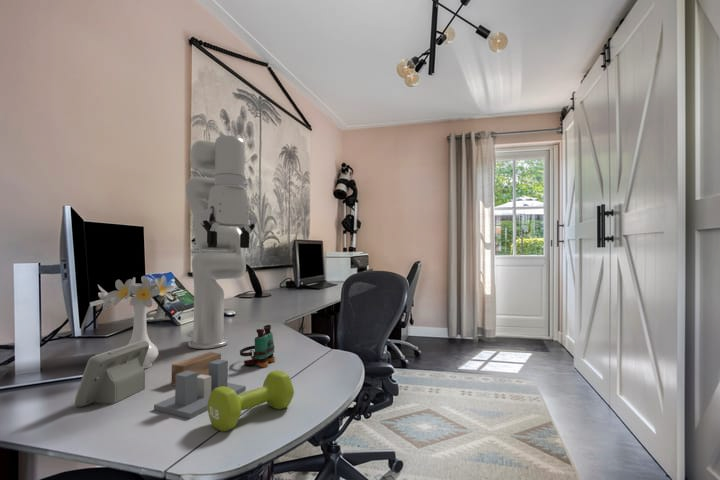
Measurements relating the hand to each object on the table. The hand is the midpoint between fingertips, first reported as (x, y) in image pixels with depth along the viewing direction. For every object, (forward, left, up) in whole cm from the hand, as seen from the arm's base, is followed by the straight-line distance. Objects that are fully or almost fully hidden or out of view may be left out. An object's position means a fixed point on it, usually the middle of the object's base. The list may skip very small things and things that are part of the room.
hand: (228, 247), depth 101 cm
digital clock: (-13, -22, -33) cm, 42 cm away
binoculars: (+1, +10, -33) cm, 35 cm away
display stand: (+7, -16, -33) cm, 37 cm away
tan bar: (-5, -6, -33) cm, 34 cm away
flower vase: (-26, -7, -33) cm, 43 cm away
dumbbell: (+22, -18, -34) cm, 44 cm away
